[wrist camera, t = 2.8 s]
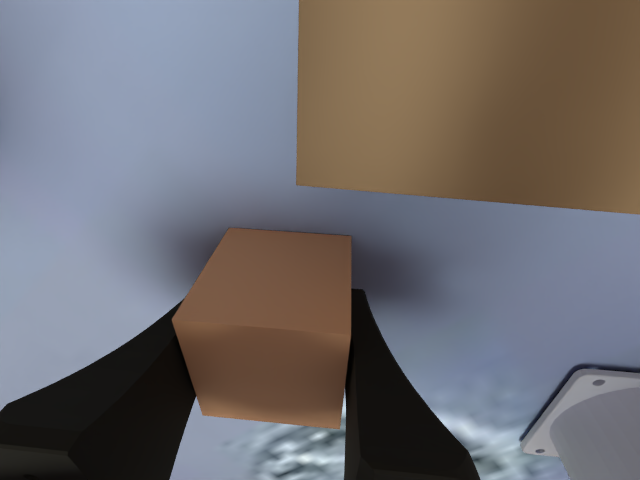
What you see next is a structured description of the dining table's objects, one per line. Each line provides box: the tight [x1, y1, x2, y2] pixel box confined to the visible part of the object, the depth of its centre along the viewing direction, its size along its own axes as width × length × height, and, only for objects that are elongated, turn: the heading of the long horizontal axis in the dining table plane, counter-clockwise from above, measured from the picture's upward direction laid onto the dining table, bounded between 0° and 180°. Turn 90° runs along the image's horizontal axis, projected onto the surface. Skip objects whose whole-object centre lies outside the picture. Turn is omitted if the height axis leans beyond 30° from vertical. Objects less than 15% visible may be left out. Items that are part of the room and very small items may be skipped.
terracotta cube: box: [172, 228, 351, 429], centre depth 12 cm, size 5×5×5 cm
